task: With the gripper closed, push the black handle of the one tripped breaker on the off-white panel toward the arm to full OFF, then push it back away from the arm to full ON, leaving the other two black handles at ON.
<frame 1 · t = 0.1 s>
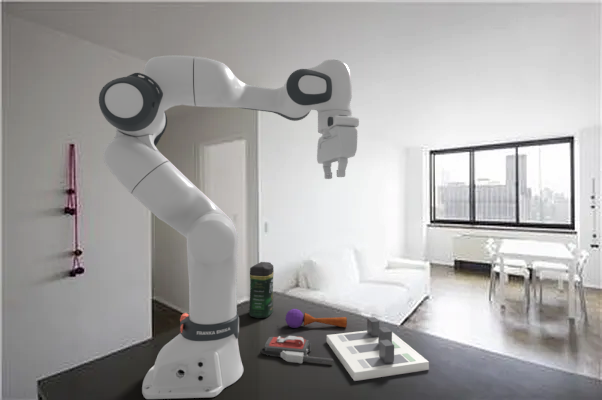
hand: (334, 178, 82), 48 cm above the kitchen counter, tool pointing down, fingers open, 8 cm apart
breaker panel: (373, 354, 85), on the kitchen counter
walkie-talkie: (297, 356, 85), on the kitchen counter
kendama: (315, 327, 103), on the kitchen counter
tripped breaker: (386, 351, 78), point 4 cm above the kitchen counter, slide at 3.5 cm
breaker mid: (385, 337, 86), point 4 cm above the kitchen counter, slide at 7.0 cm
coffee jar: (261, 314, 114), on the kitchen counter
breaker left: (373, 326, 93), point 4 cm above the kitchen counter, slide at 7.0 cm
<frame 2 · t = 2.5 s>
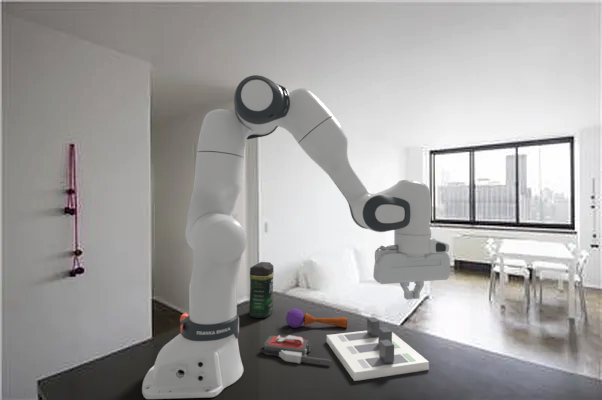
hand: (411, 298, 80), 17 cm above the kitchen counter, tool pointing down, fingers closed
nothing on the kitchen counter moved.
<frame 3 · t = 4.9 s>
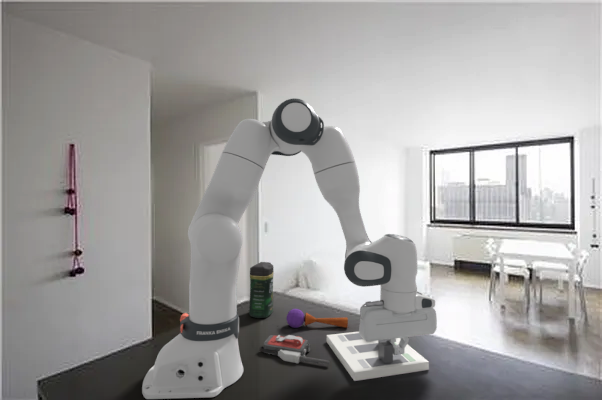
hand: (397, 353, 79), 3 cm above the kitchen counter, tool pointing down, fingers closed
tripped breaker: (385, 351, 78), point 4 cm above the kitchen counter, slide at 3.2 cm, touching gripper
everything else where it was.
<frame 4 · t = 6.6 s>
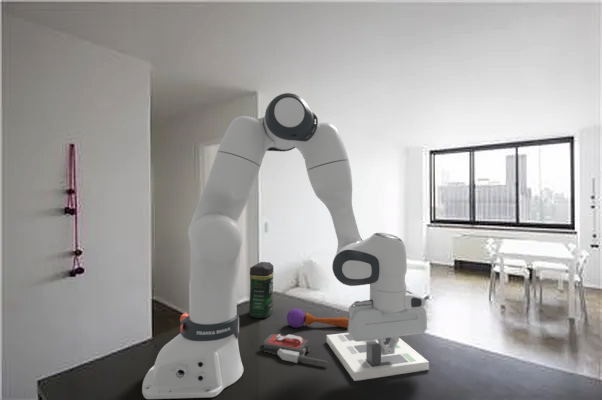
hand: (387, 353, 78), 4 cm above the kitchen counter, tool pointing down, fingers closed
tripped breaker: (373, 352, 77), point 4 cm above the kitchen counter, slide at -0.1 cm
everything else where it was.
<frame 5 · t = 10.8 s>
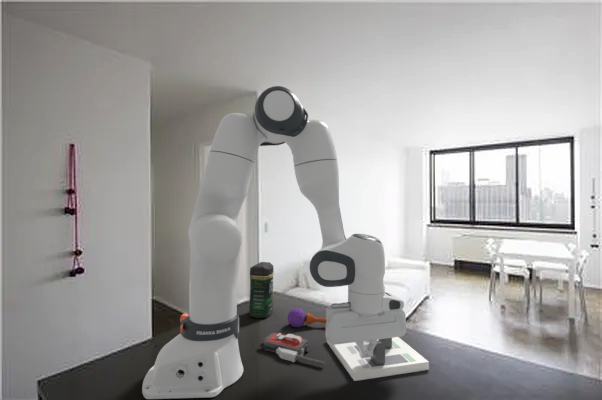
hand: (365, 356, 77), 4 cm above the kitchen counter, tool pointing down, fingers closed
tripped breaker: (377, 352, 78), point 4 cm above the kitchen counter, slide at 1.1 cm, touching gripper
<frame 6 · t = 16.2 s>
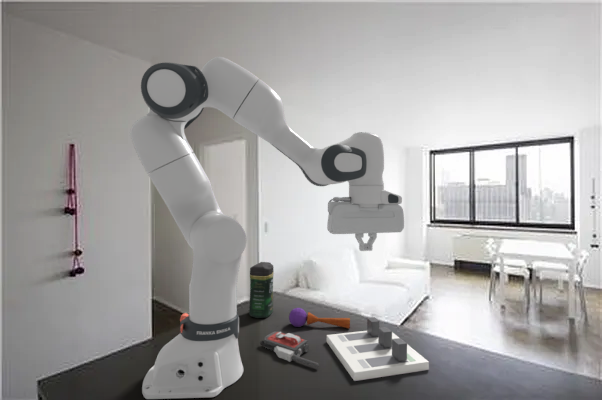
hand: (365, 250, 81), 29 cm above the kitchen counter, tool pointing down, fingers closed
tripped breaker: (399, 349, 79), point 4 cm above the kitchen counter, slide at 7.1 cm
at the end: tripped breaker slide at 7.1 cm; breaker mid slide at 7.0 cm; breaker left slide at 7.0 cm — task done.
